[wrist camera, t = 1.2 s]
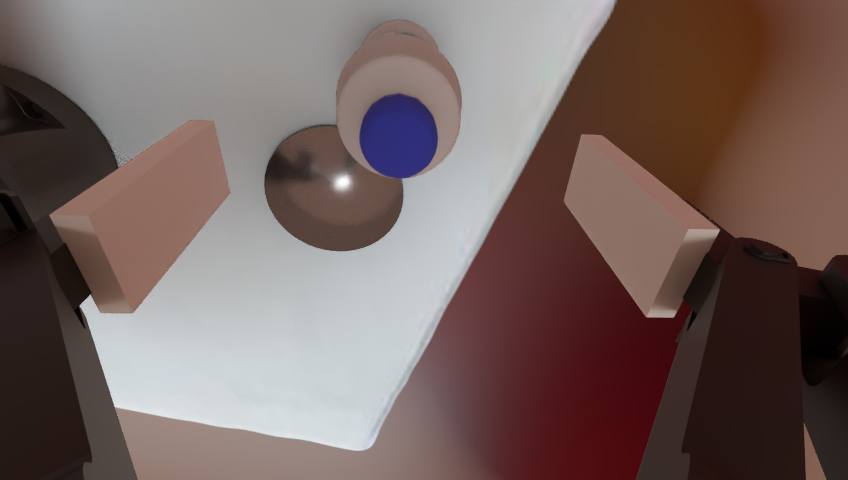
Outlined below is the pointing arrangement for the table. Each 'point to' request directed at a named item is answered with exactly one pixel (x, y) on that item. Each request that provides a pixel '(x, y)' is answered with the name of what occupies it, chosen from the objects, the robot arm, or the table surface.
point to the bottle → (398, 102)
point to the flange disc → (329, 192)
